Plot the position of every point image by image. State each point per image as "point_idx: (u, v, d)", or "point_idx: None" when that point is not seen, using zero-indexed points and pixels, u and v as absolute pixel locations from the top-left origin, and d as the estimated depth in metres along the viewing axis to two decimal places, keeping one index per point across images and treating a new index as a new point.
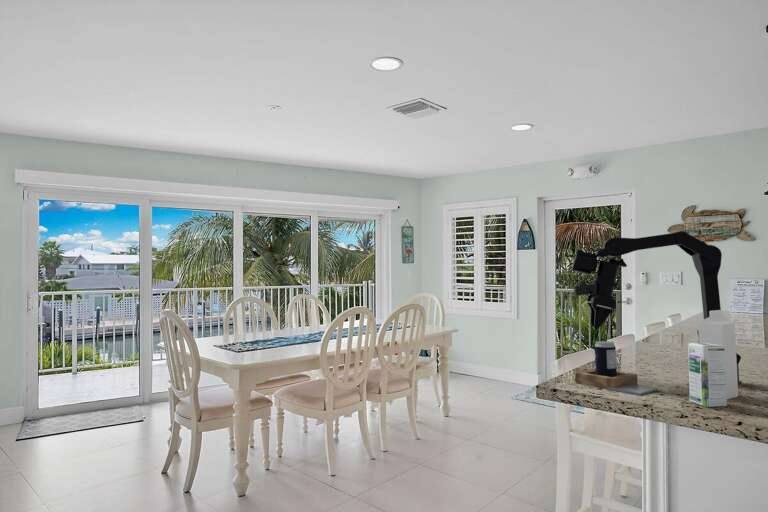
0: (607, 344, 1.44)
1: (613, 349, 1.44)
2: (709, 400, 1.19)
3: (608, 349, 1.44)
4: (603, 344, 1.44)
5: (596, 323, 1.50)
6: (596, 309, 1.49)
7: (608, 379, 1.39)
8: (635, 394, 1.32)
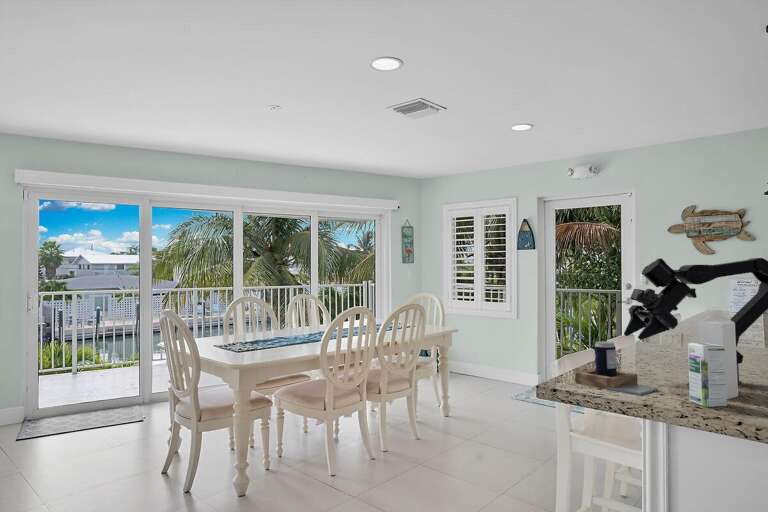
0: (607, 344, 1.44)
1: (613, 349, 1.44)
2: (709, 400, 1.19)
3: (608, 349, 1.44)
4: (603, 344, 1.44)
5: (643, 333, 1.41)
6: (653, 321, 1.40)
7: (608, 379, 1.39)
8: (635, 394, 1.32)
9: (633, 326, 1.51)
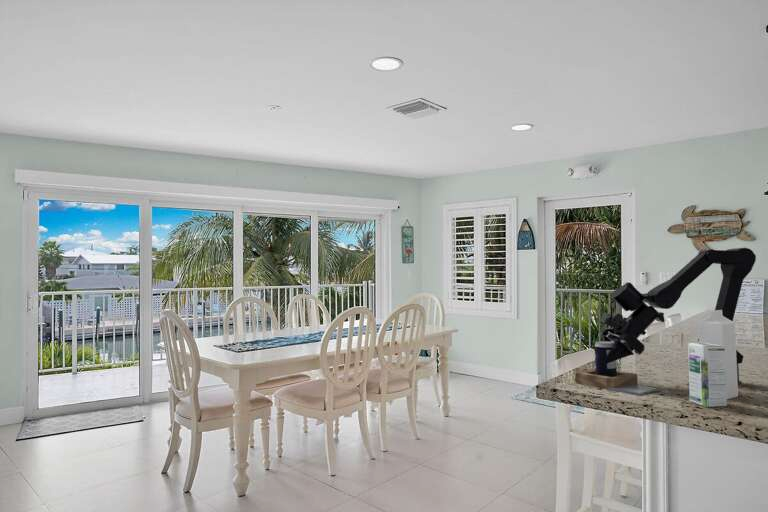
0: (607, 344, 1.44)
1: None
2: (709, 400, 1.19)
3: (608, 349, 1.44)
4: (603, 344, 1.44)
5: (608, 357, 1.43)
6: (618, 345, 1.41)
7: (608, 379, 1.39)
8: (635, 394, 1.32)
9: None
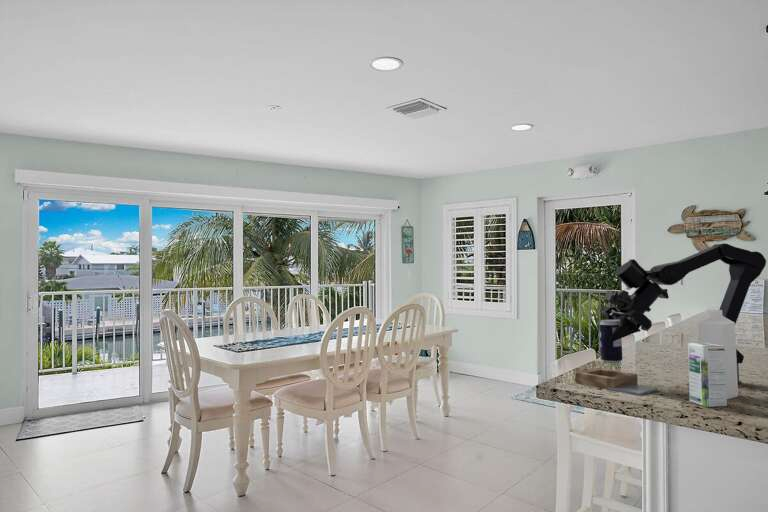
0: (613, 322, 1.42)
1: None
2: (709, 400, 1.19)
3: (614, 326, 1.42)
4: (609, 322, 1.42)
5: (615, 335, 1.41)
6: (624, 322, 1.40)
7: (608, 379, 1.39)
8: (635, 394, 1.32)
9: None
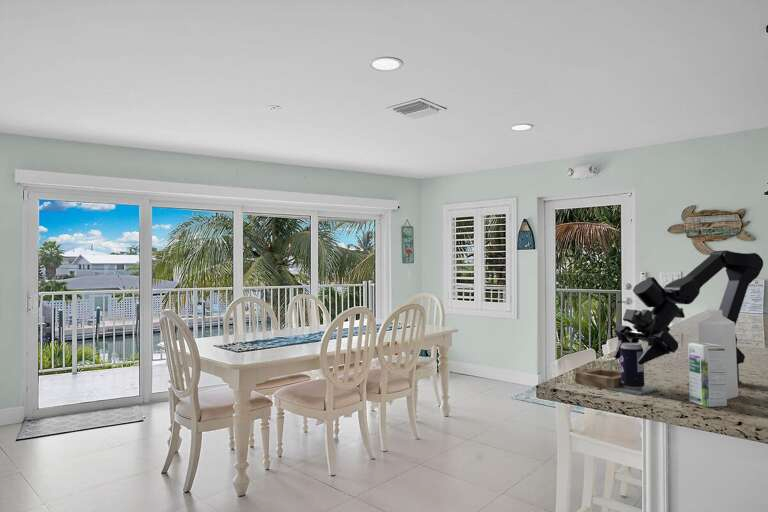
0: (637, 346, 1.36)
1: (642, 351, 1.36)
2: (709, 400, 1.19)
3: (638, 351, 1.35)
4: (633, 346, 1.36)
5: (643, 358, 1.33)
6: (653, 344, 1.32)
7: (608, 379, 1.39)
8: (635, 394, 1.32)
9: None
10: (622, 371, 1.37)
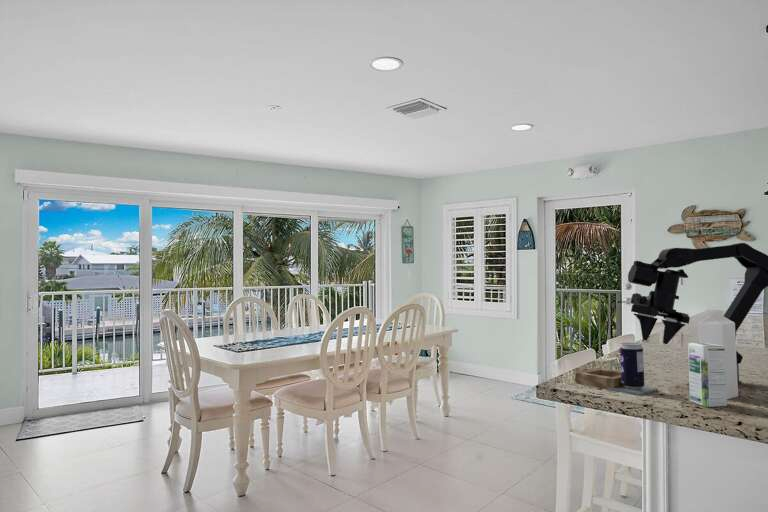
0: (637, 346, 1.36)
1: (642, 351, 1.36)
2: (709, 400, 1.19)
3: (638, 351, 1.35)
4: (633, 346, 1.36)
5: (643, 333, 1.45)
6: (639, 318, 1.46)
7: (608, 379, 1.39)
8: (635, 394, 1.32)
9: (667, 331, 1.49)
10: (622, 371, 1.37)
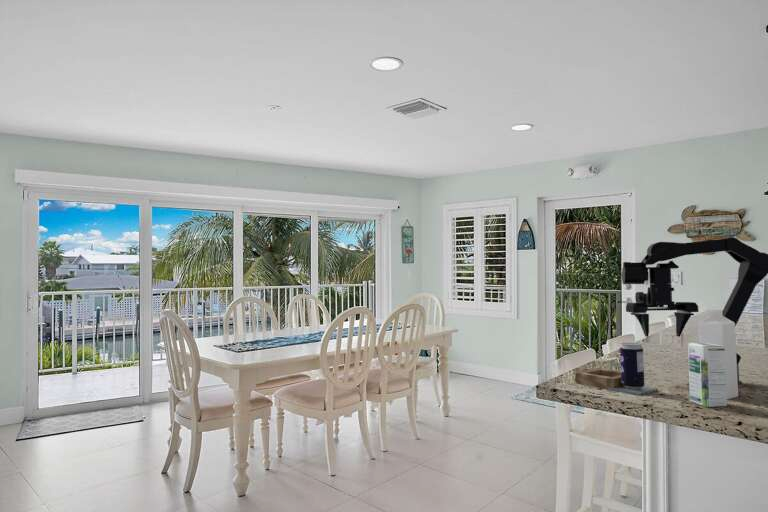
0: (637, 346, 1.36)
1: (642, 351, 1.36)
2: (709, 400, 1.19)
3: (638, 351, 1.35)
4: (633, 346, 1.36)
5: (643, 330, 1.50)
6: (637, 316, 1.51)
7: (608, 379, 1.39)
8: (635, 394, 1.32)
9: (678, 324, 1.49)
10: (622, 371, 1.37)
